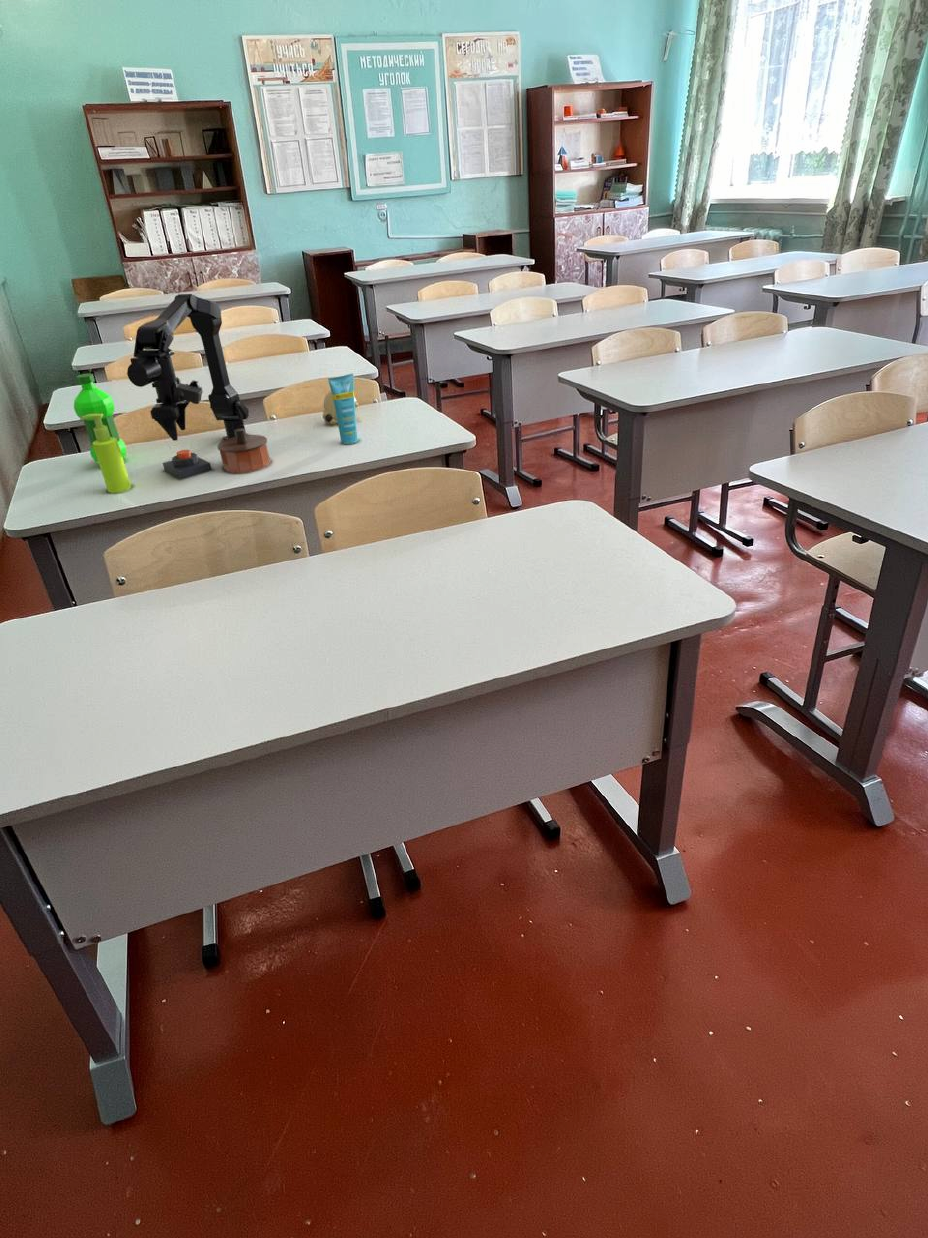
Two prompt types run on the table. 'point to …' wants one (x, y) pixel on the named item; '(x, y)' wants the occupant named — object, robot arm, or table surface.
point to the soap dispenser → (109, 457)
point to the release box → (187, 466)
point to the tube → (344, 407)
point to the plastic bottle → (96, 410)
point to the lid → (242, 442)
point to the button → (183, 454)
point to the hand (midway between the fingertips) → (179, 435)
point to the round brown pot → (246, 460)
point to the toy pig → (331, 409)
